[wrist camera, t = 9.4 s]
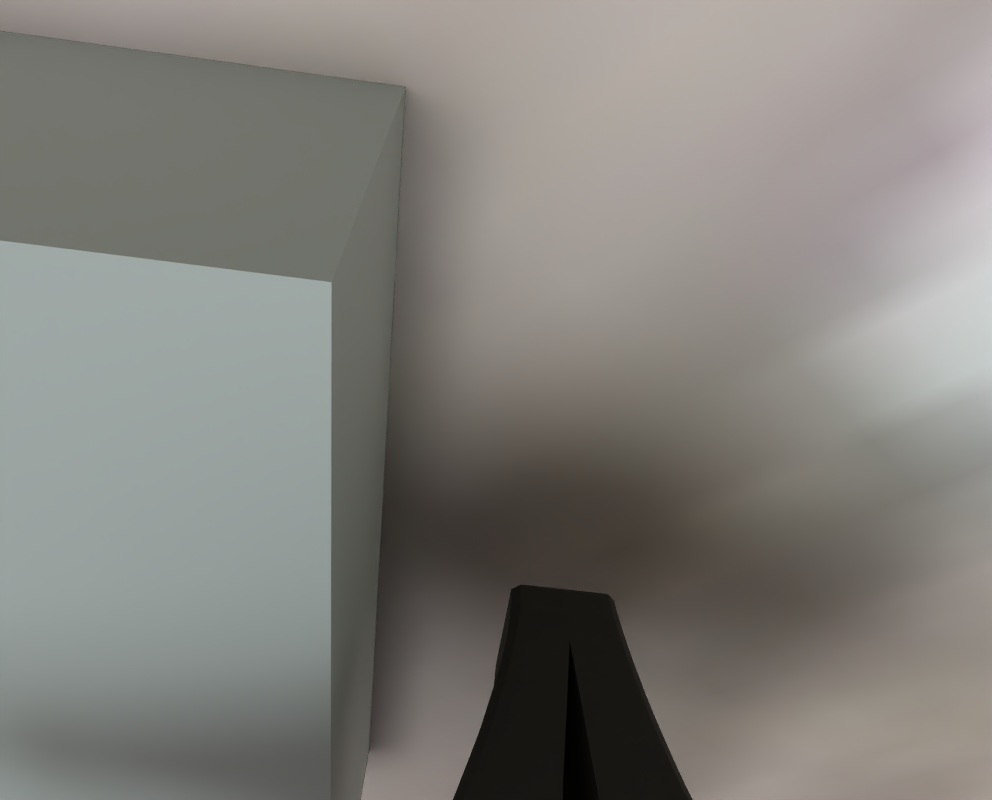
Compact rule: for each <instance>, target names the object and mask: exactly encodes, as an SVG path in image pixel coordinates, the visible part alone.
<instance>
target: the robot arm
mask: <svg viewBox="0 0 992 800" xmlns="http://www.w3.org/2000/svg"><path fill="white" fill-rule="evenodd" d="M453 800H692V798H691V796H690V794H689V792H688V790H687V788H686V786H685V784H684V781H683V779H682V777H681V775H680V773H679V771H678V769H677V766H676V764H675V762H674V760H673V758H672V755H671V753H670V751H669V748H668V746H667V744H666V742H665V739H664V737H663V735H662V732H661V730H660V728H659V725H658V723H657V721H656V719H655V716H654V714H653V712H652V709H651V707H650V704H649V702H648V699H647V697H646V694H645V692H644V689H643V686H642V684H641V681H640V679H639V676H638V673H637V671H636V668H635V665H634V663H633V660H632V657H631V654H630V651H629V648H628V646H627V643H626V640H625V637H624V634H623V630H622V627H621V624H620V621H619V617H618V614H617V611H616V607H615V603H614V600H613V599H612V598H611V597H610V596H609V595H608V594H601V593H592V592H583V591H574V590H565V589H556V588H547V587H538V586H529V585H519V586H517V587H515V588H513V589H511V593H510V598H509V603H508V608H507V613H506V618H505V623H504V628H503V633H502V638H501V643H500V648H499V653H498V658H497V662H496V670H495V680H494V688H493V691H492V694H491V697H490V700H489V703H488V707H487V710H486V713H485V716H484V719H483V722H482V725H481V728H480V731H479V734H478V737H477V739H476V742H475V745H474V747H473V750H472V752H471V755H470V757H469V760H468V763H467V765H466V768H465V770H464V773H463V775H462V778H461V781H460V783H459V786H458V788H457V791H456V793H455V796H454V798H453Z"/></svg>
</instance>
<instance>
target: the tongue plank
mask: <svg viewBox="0 0 992 800" xmlns="http://www.w3.org/2000/svg"><path fill="white" fill-rule="evenodd" d="M405 89H406V87H403V86H396V85H389V84H381V83H374V82H367V81H360V80H352V79H345V78H338V77H331V76H323V75H316V74H309V73H302V72H294V71H287V70H280V69H273V68H265V67H258V66H251V65H244V64H236V63H229V62H222V61H215V60H208V59H200V58H193V57H186V56H179V55H171V54H164V53H157V52H150V51H142V50H135V49H128V48H121V47H113V46H106V45H99V44H92V43H84V42H77V41H70V40H63V39H55V38H48V37H41V36H34V35H26V34H19V33H12V32H5V31H0V800H361V795H362V789H363V783H364V777H365V771H366V765H367V759H368V753H369V740H370V722H371V704H372V686H373V668H374V650H375V632H376V614H377V595H378V577H379V559H380V541H381V523H382V505H383V487H384V469H385V451H386V433H387V415H388V396H389V378H390V360H391V342H392V324H393V306H394V288H395V270H396V252H397V234H398V215H399V197H400V179H401V161H402V143H403V125H404V107H405Z"/></svg>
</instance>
